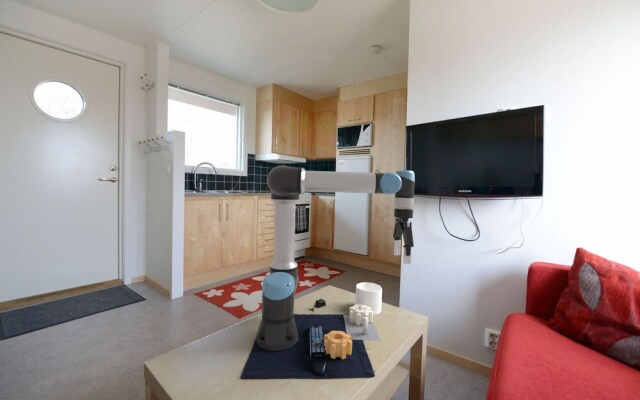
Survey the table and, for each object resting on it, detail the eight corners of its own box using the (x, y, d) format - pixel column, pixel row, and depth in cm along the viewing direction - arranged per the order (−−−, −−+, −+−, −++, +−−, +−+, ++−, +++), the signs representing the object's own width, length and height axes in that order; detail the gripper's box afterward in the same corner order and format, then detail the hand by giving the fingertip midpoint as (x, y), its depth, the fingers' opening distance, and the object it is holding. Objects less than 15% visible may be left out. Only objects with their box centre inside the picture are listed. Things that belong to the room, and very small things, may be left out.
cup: (379, 307, 129) (380, 283, 129) (382, 319, 118) (383, 292, 117) (354, 305, 130) (355, 281, 130) (355, 317, 119) (356, 290, 118)
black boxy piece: (325, 304, 133) (325, 294, 133) (335, 309, 127) (335, 299, 127) (305, 311, 125) (305, 301, 124) (315, 317, 119) (315, 307, 119)
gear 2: (350, 325, 108) (351, 313, 108) (348, 314, 118) (348, 303, 118) (374, 326, 108) (375, 313, 108) (370, 314, 118) (370, 303, 118)
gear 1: (324, 358, 89) (324, 344, 89) (323, 342, 99) (324, 328, 99) (352, 359, 89) (353, 344, 89) (349, 342, 99) (350, 329, 99)
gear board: (347, 343, 98) (348, 323, 98) (343, 318, 117) (343, 301, 117) (380, 344, 98) (381, 324, 98) (370, 319, 117) (371, 302, 117)
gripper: (424, 211, 99) (421, 268, 100) (403, 206, 124) (401, 252, 124) (403, 210, 99) (401, 267, 100) (387, 206, 124) (385, 251, 124)
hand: (401, 259), depth 112 cm, fingers open, 13 cm apart
